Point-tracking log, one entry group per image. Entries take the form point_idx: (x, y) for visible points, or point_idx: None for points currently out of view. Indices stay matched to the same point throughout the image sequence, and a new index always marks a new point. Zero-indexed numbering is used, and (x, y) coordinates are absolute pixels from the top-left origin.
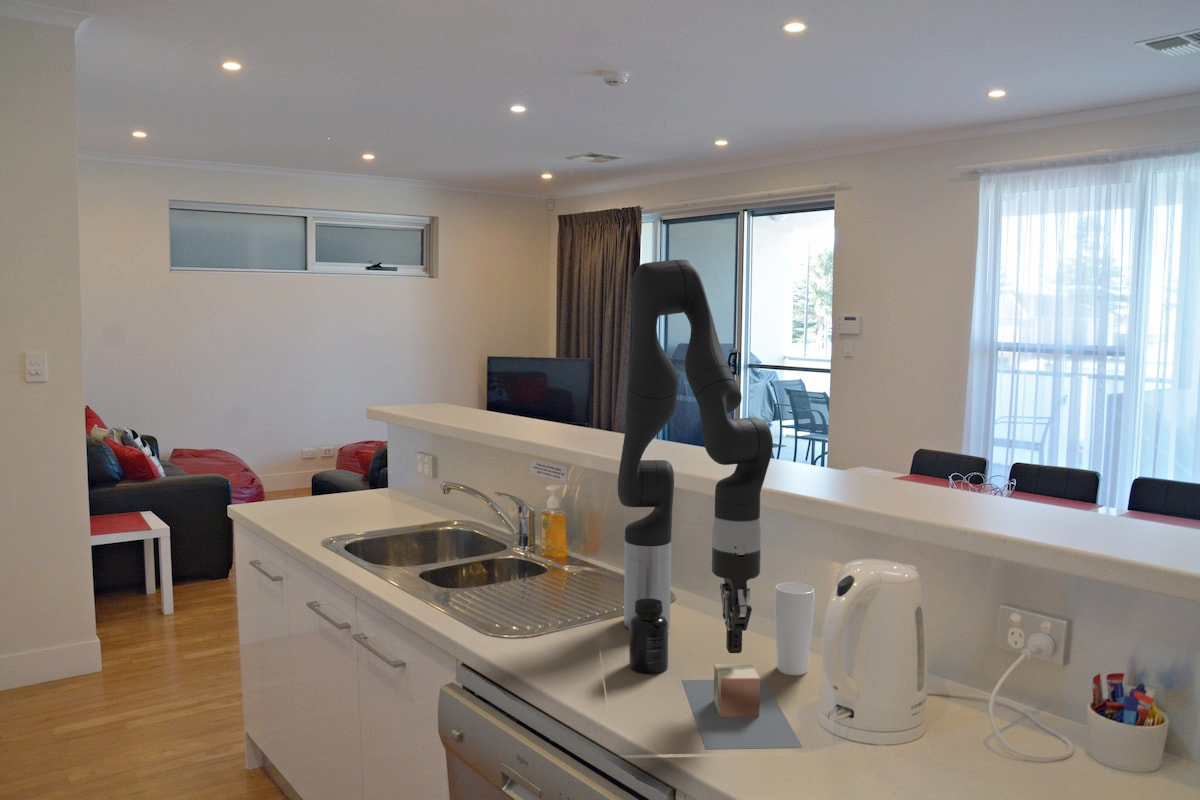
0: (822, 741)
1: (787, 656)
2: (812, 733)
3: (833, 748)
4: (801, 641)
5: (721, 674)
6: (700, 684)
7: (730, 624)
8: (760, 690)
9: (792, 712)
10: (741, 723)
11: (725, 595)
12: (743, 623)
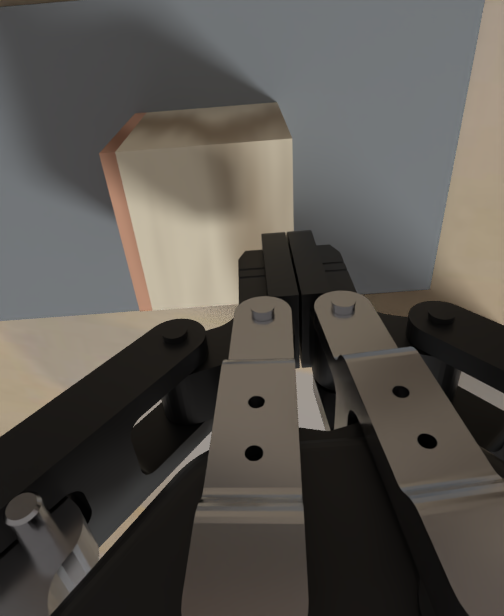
0: (63, 361)
1: (469, 387)
2: (101, 349)
3: (33, 375)
4: None
5: (160, 160)
6: (427, 60)
7: (173, 348)
8: (347, 269)
9: (217, 325)
10: (98, 181)
11: (187, 567)
12: (170, 429)
